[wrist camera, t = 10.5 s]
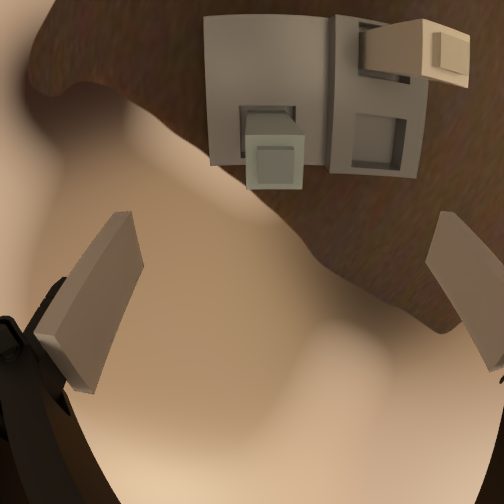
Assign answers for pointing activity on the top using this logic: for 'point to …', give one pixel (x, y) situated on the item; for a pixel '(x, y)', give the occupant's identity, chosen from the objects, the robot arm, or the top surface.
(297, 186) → the plug
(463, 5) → the top surface
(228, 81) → the panel
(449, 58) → the plug
